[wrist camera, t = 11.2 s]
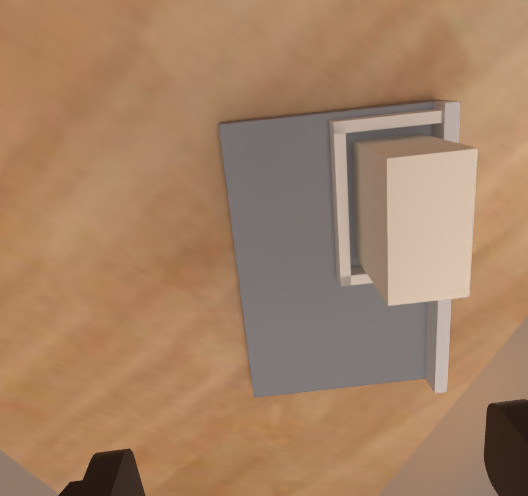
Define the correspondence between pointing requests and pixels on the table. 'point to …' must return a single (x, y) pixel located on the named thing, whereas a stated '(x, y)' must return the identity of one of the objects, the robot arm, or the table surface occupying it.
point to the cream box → (415, 216)
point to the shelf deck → (323, 253)
